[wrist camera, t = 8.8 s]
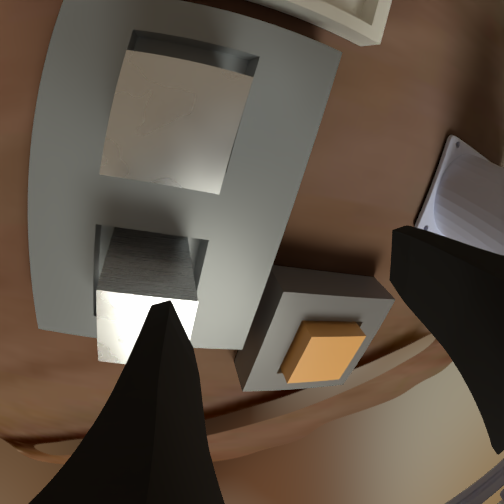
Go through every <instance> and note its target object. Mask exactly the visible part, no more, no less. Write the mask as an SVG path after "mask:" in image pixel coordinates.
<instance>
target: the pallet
mask: <svg viewBox="0 0 504 504" xmlns="http://www.w3.org/2000/svg"><path fill="white" fill-rule="evenodd" d="M126 50H131V51H138V52H144V53H151V54H157V55H162V56H168V57H173V58H178V59H183V60H188V61H192V62H197V63H201V64H206V65H210V66H214V67H218V68H222V69H226V70H229V71H233V72H237V73H240V74H244V75H247V76H251V77H254V78H253V81H252V84H251V87H250V91H249V94H248V97H247V100H246V103H245V107H244V110H243V113H242V117H241V120H240V123H239V127H238V130H237V133H236V137H235V140H234V144H233V147H232V151H231V154H230V158H229V161H228V165H227V168H226V172H225V175H224V179H223V183H222V186H221V190H220V193H219V195H218V194H213V193H208V192H202V191H197V190H191V189H186V188H180V187H174V186H169V185H163V184H157V183H151V182H145V181H138V180H132V179H126V178H119V177H112V176H106V175H99V173H100V166H101V160H102V154H103V148H104V142H105V137H106V131H107V126H108V121H109V117H110V112H111V107H112V103H113V99H114V94H115V90H116V86H117V82H118V78H119V75H120V71H121V67H122V64H123V60H124V57H125V53H126ZM341 55H342V52H340V51H338V50H336V49H334V48H332V47H329V46H327V45H325V44H322V43H320V42H318V41H315V40H313V39H310V38H308V37H306V36H303V35H300V34H298V33H295V32H293V31H290V30H287V29H284V28H282V27H279V26H276V25H273V24H270V23H267V22H264V21H261V20H258V19H254V18H251V17H248V16H244V15H241V14H237V13H234V12H230V11H226V10H222V9H218V8H214V7H210V6H205V5H201V4H196V3H191V2H186V1H181V0H63V3H62V6H61V9H60V12H59V14H58V17H57V21H56V24H55V27H54V30H53V34H52V37H51V40H50V44H49V48H48V52H47V55H46V59H45V64H44V68H43V72H42V77H41V82H40V87H39V92H38V97H37V103H36V109H35V116H34V123H33V131H32V140H31V150H30V162H29V179H28V240H29V257H30V269H31V279H32V288H33V296H34V304H35V311H36V317H37V323H38V329H43V330H49V331H54V332H60V333H66V334H73V335H79V336H86V337H93V338H97V313H96V290H97V286H98V282H99V278H100V275H101V271H102V268H103V264H104V261H105V257H106V254H107V251H108V247H109V244H110V241H111V238H112V235H113V232H114V229H115V227H119V228H127V229H134V230H141V231H148V232H155V233H162V234H169V235H177V236H184V237H188V243H189V250H190V256H191V262H192V268H193V274H194V280H195V286H196V292H197V297H198V305H197V309H196V314H195V318H194V323H193V327H192V332H191V336H190V342H191V344H192V346H193V347H194V348H212V349H238V350H242V349H243V346H244V343H245V341H246V338H247V335H248V333H249V330H250V327H251V324H252V322H253V319H254V316H255V313H256V310H257V308H258V305H259V302H260V299H261V296H262V294H263V291H264V288H265V285H266V282H267V280H268V277H269V274H270V271H271V268H272V265H273V262H274V260H275V257H276V254H277V251H278V248H279V245H280V242H281V239H282V237H283V234H284V231H285V228H286V225H287V222H288V219H289V216H290V213H291V210H292V207H293V204H294V201H295V198H296V195H297V192H298V189H299V186H300V183H301V180H302V177H303V174H304V171H305V168H306V165H307V162H308V159H309V156H310V153H311V150H312V147H313V144H314V141H315V138H316V135H317V132H318V128H319V125H320V122H321V119H322V116H323V113H324V110H325V107H326V103H327V100H328V97H329V94H330V91H331V87H332V84H333V81H334V78H335V75H336V71H337V68H338V65H339V62H340V58H341Z"/></svg>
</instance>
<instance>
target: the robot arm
mask: <svg viewBox="0 0 504 504" xmlns="http://www.w3.org/2000/svg"><path fill="white" fill-rule="evenodd" d="M390 281H391V283H392V284H393V286H394V287H395V289H396V291H397V292H398V294H399V295H400V296H401V298H402V299H403V301H404V302H405V303H406V305H407V306H408V307H409V308H410V309H411V310H412V311H413V313H414V314H415V315H416V316H417V317H418V318H419V319H420V321H421V322H422V323H423V324H424V325H425V326H426V327H427V329H428V330H429V331H430V332H431V333H432V334H433V336H434V337H435V338H436V339H437V340H438V341H439V343H440V344H441V345H442V346H443V348H444V349H445V350H446V352H447V353H448V354H449V356H450V357H451V359H452V360H453V362H454V364H455V365H456V367H457V368H458V370H459V372H460V373H461V375H462V377H463V378H464V380H465V382H466V384H467V386H468V388H469V390H470V391H471V393H472V395H473V398H474V400H475V402H476V404H477V406H478V409H479V411H480V413H481V415H482V418H483V420H484V423H485V426H486V429H487V432H488V434H489V438H490V441H491V445H492V447H493V449H494V450H495V452H496V453H497V454H500V453H501V452H502V451H503V450H504V168H503V167H501V166H498V165H496V164H494V163H491V162H490V161H489V160H487V159H486V158H485V157H484V156H482V155H481V154H480V153H478V152H477V151H476V150H474V149H473V148H472V147H470V146H469V145H468V144H466V143H465V142H463V141H462V140H461V139H459V138H458V137H456V136H454V135H450V136H449V137H448V138H447V141H446V144H445V148H444V151H443V153H442V156H441V159H440V162H439V165H438V168H437V171H436V173H435V176H434V179H433V181H432V184H431V187H430V189H429V192H428V194H427V197H426V199H425V202H424V204H423V207H422V209H421V212H420V214H419V217H418V219H417V221H416V224H415V227H412V226H407V225H406V226H403V227H400V228H397V229H394V230H393V231H392V253H391V268H390ZM503 485H504V459H503V460H502V461H501V462H499V463H498V464H497V465H496V466H495V467H494V468H492V469H491V470H490V471H489V472H487V473H486V474H485V475H484V476H483V477H481V478H480V479H479V480H478V481H476V482H475V483H474V484H472V485H471V486H470V487H468V488H467V489H466V490H464V491H463V492H461V493H460V494H458V495H457V496H456V497H454V498H453V499H451V500H450V501H449V502H447V503H445V504H482V503H483V502H484V501H485V500H487V499H488V498H489V497H490V496H492V495H493V494H494V493H495V492H496V491H498V490H499V489H500V488H501V487H502V486H503ZM500 496H501V498H502V500H501V501H500V502H499V503H497V504H504V489H503V490H502V491H501V493H500ZM29 504H225V503H224V500H223V497H222V494H221V491H220V488H219V485H218V481H217V478H216V474H215V471H214V467H213V463H212V459H211V456H210V452H209V447H208V441H207V435H206V428H205V420H204V412H203V403H202V394H201V386H200V377H199V372H198V367H197V363H196V358H195V354H194V349H193V346H192V344H191V342H190V340H189V337H188V335H187V333H186V331H185V329H184V327H183V325H182V323H181V320H180V318H179V316H178V314H177V312H176V310H175V307H174V305H173V303H172V301H171V300H167V301H164V302H160V303H157V304H153V305H151V307H150V309H149V311H148V313H147V316H146V318H145V321H144V323H143V325H142V328H141V330H140V333H139V335H138V337H137V340H136V342H135V344H134V347H133V349H132V351H131V353H130V356H129V358H128V360H127V363H126V365H125V367H124V369H123V371H122V373H121V375H120V377H119V379H118V381H117V383H116V385H115V387H114V389H113V391H112V393H111V395H110V397H109V399H108V401H107V402H106V404H105V406H104V408H103V409H102V411H101V413H100V414H99V416H98V418H97V419H96V421H95V423H94V424H93V426H92V427H91V428H90V430H89V431H88V433H87V434H86V436H85V437H84V439H83V440H82V442H81V443H80V445H79V446H78V447H77V449H76V450H75V452H74V453H73V454H72V456H71V457H70V458H69V459H68V461H67V462H66V463H65V464H64V466H63V467H62V468H61V469H60V470H59V472H58V473H57V474H56V475H55V476H54V478H53V479H52V480H51V481H50V482H49V483H48V484H47V485H46V487H44V488H43V490H42V491H41V492H40V493H39V494H38V495H37V496H36V497H35V498H34V499H33V500H32V501H31V502H30V503H29Z"/></svg>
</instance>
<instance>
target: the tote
mask: <svg viewBox="0 0 504 504" xmlns="http://www.w3.org/2000/svg"><path fill="white" fill-rule="evenodd" d="M246 1H250V2H253V3H256V4H259V5H262V6H266V7H269V8H272V9H274V10H277V11H280V12H283V13H286V14H288V15H291V16H294V17H296V18H299V19H301V20H304V21H306V22H309V23H311V24H314V25H316V26H318V27H321V28H323V29H325V30H327V31H330V32H332V33H334V34H336V35H338V36H340V37H343V38H345V39H347V40H349V41H351V42H353V43H355V44H357V45H359V46H368V45H379V44H380V43H381V39H382V36H383V32H384V28H385V25H386V21H387V17H388V13H389V9H390V6H391V2H392V0H246Z"/></svg>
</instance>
